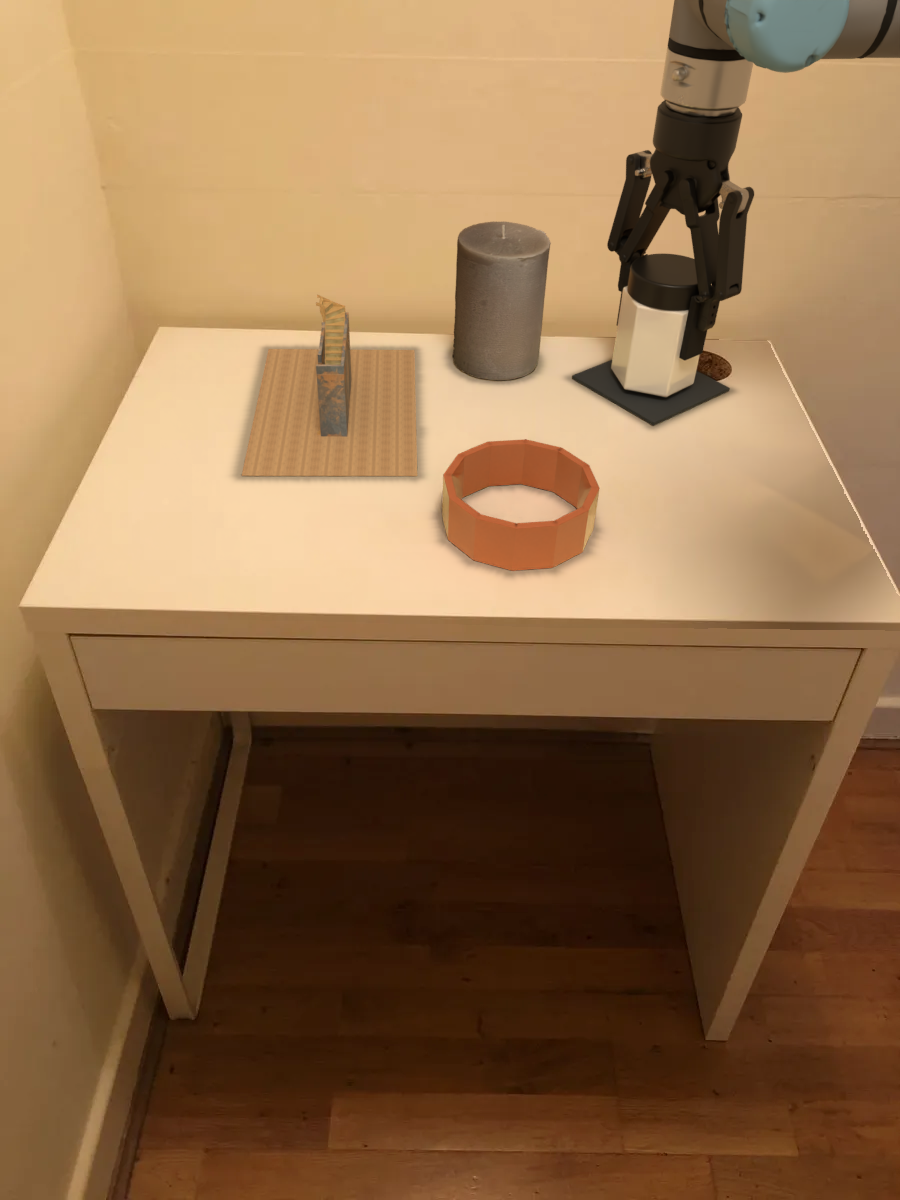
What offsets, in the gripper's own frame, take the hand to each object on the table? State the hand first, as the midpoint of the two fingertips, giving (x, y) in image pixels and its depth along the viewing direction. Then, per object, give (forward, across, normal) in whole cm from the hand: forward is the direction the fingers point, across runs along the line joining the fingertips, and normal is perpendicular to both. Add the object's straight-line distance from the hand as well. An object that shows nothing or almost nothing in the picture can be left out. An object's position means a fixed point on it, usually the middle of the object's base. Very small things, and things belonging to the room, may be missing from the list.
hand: (658, 338), depth 103 cm
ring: (+5, +10, -28) cm, 30 cm away
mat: (+5, 0, 0) cm, 5 cm away
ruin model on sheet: (+6, -16, -30) cm, 34 cm away
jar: (+5, 0, 0) cm, 5 cm away
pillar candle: (+6, -14, -10) cm, 18 cm away
